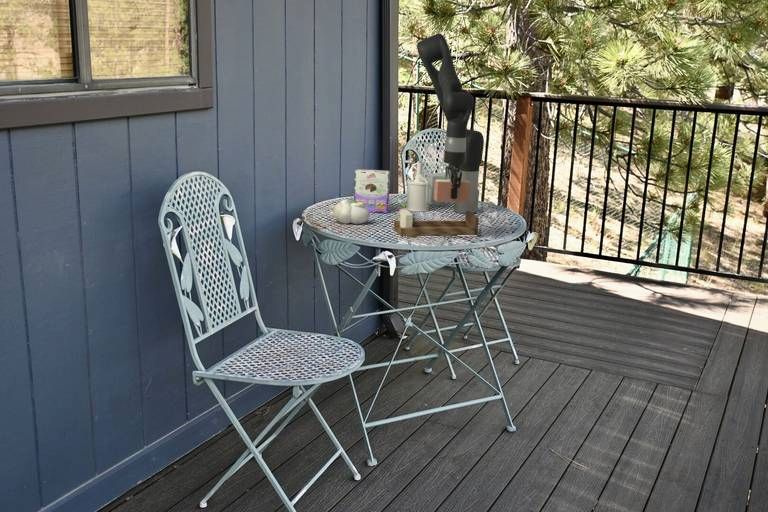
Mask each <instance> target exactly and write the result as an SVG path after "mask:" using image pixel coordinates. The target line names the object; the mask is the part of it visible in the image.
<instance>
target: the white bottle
mask: <svg viewBox="0 0 768 512" xmlns="http://www.w3.org/2000/svg"><path fill="white" fill-rule="evenodd" d="M414 173H415V176H414V179H409V180H407V181H406V183H407V190H406V208H407V209H408V210H409V211H411V212H416V213H423V212H428V211H429V203H428V197H429V184H430V182H428V181H427V178H425V177H424V175H423V173H424V172H423V162H422V160H418V161H417V163H416V168H415V171H414Z"/></svg>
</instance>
